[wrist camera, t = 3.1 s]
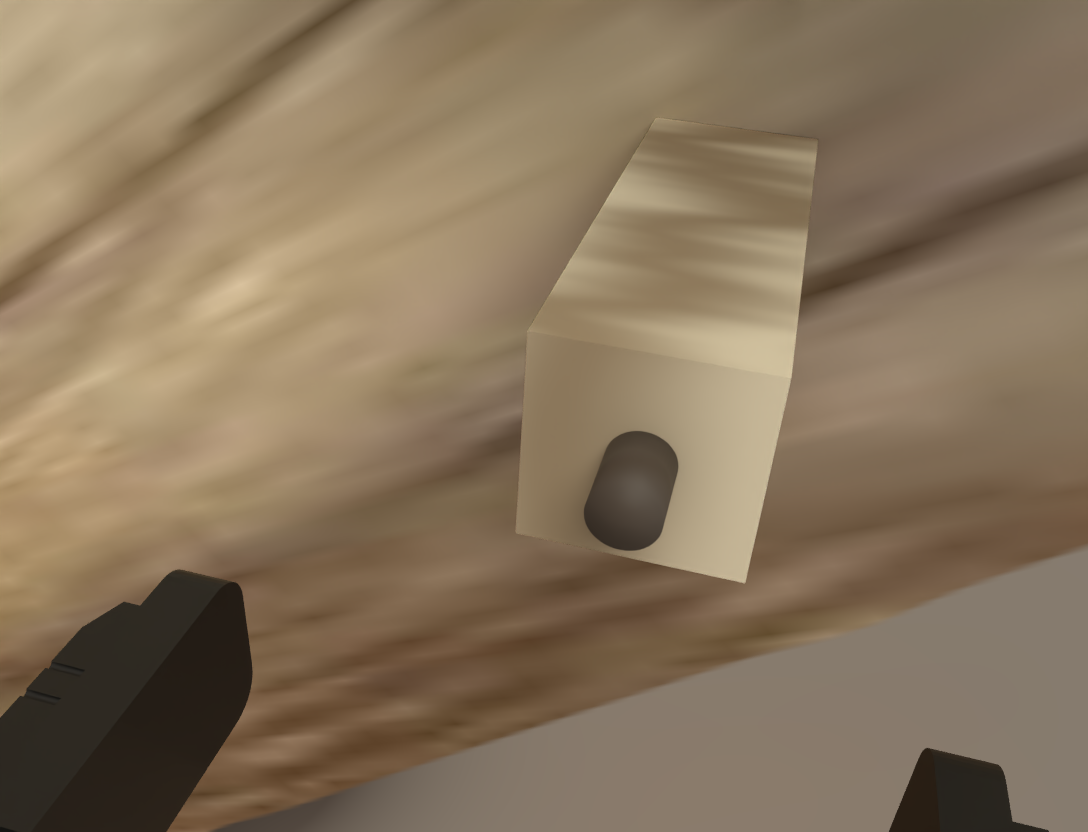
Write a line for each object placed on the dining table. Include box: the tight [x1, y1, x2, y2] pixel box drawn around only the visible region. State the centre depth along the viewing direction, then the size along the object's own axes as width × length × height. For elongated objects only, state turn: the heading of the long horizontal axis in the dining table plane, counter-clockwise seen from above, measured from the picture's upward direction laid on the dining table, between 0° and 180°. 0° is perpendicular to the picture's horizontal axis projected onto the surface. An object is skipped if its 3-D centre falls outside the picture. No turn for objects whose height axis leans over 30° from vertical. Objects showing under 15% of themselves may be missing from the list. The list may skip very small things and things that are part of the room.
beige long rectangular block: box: [516, 117, 818, 583], centre depth 20 cm, size 4×4×14 cm
